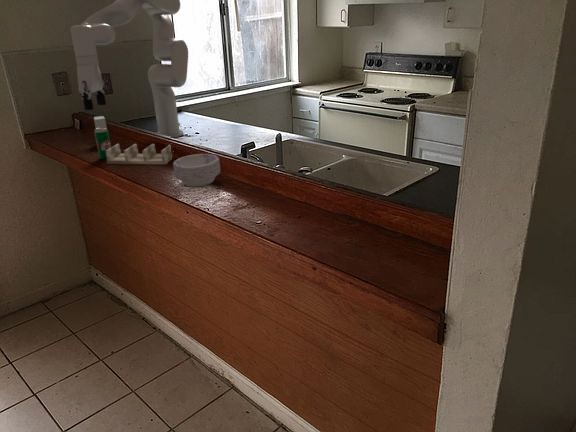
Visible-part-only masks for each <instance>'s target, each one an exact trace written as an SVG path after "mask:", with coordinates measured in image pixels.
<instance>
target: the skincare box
mask: <svg viewBox="0 0 576 432" xmlns="http://www.w3.org/2000/svg"><path fill="white" fill-rule="evenodd" d="M93 121H94V126H95V129H96V128H101V127H105V128H107V129H108V127H107V122H106V118H105V117H104V116H103V115H102V116H101V115H99V116H94V117H93Z"/></svg>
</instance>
